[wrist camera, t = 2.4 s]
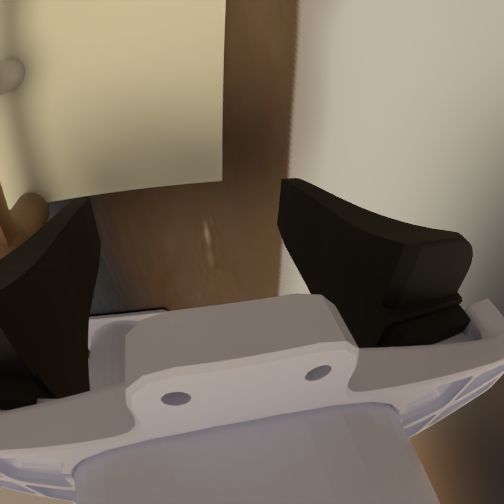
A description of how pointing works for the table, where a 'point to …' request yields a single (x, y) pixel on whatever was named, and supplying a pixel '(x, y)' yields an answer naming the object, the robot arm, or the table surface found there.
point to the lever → (20, 220)
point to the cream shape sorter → (109, 95)
